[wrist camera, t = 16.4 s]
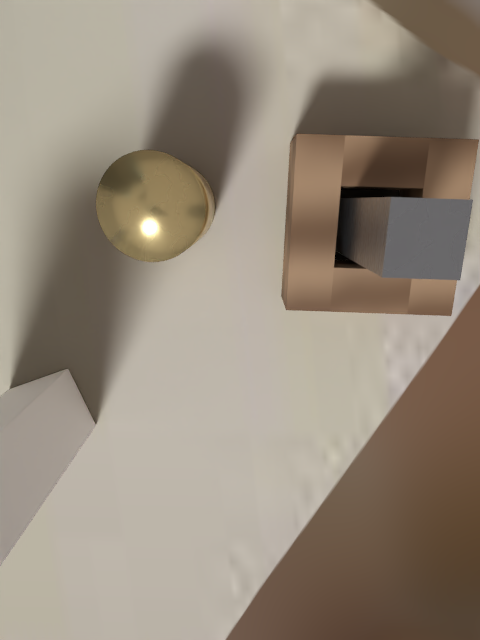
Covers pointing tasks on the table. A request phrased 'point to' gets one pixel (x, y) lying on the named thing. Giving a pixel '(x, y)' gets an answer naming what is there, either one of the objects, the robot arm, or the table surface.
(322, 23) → the table surface
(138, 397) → the table surface
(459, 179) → the socket block
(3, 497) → the milk
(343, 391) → the table surface
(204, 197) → the round bit
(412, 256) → the square bit
